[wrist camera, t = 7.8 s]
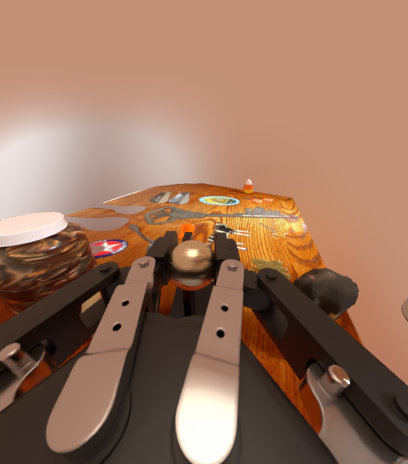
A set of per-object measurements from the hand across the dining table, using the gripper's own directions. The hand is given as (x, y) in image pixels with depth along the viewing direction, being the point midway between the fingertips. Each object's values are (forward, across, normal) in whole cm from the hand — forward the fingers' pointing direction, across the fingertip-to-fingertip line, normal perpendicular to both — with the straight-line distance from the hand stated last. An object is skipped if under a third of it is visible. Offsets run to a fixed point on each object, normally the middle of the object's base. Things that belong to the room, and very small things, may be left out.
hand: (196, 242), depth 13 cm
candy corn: (+87, -21, +17) cm, 92 cm away
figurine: (+2, -14, +17) cm, 22 cm away
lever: (+1, 0, +4) cm, 4 cm away
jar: (+7, +24, +17) cm, 30 cm away
